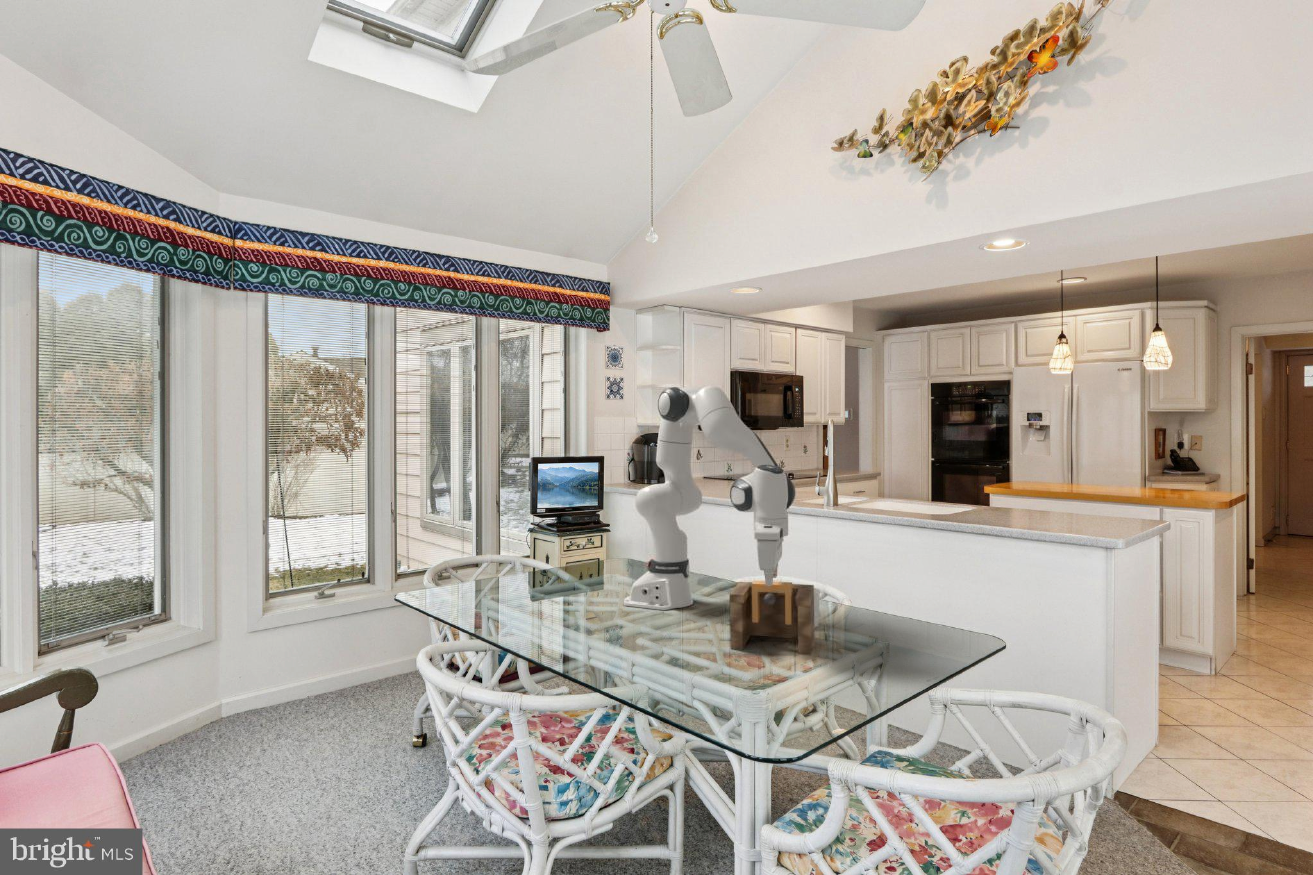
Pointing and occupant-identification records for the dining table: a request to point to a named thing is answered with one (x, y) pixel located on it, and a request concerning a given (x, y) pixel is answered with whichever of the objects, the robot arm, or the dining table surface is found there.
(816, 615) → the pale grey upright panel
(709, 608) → the dining table surface
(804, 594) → the notched shelf
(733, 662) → the dining table surface
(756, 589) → the wooden arch block
